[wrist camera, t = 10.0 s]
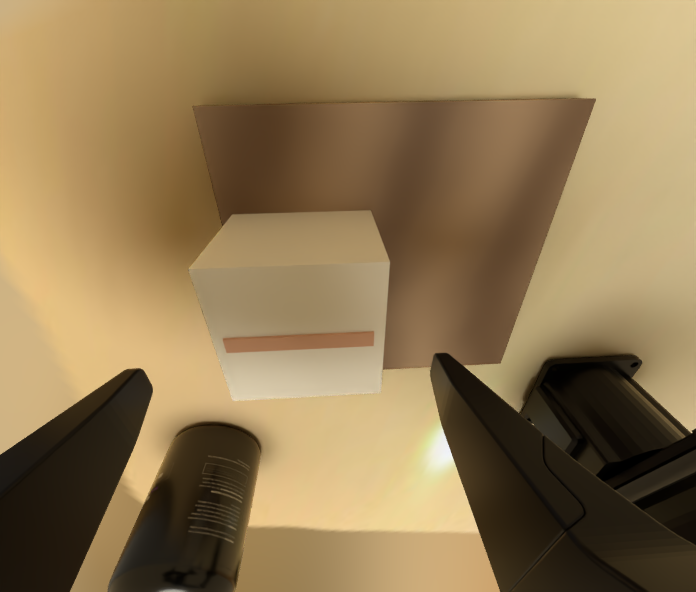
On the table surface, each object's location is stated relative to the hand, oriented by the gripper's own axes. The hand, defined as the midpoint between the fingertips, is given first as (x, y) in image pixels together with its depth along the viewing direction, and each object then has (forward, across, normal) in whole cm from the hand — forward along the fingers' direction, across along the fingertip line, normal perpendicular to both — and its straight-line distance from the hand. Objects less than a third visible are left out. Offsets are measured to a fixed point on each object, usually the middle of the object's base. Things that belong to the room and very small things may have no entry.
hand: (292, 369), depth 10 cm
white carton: (+6, 0, 0) cm, 6 cm away
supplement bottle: (+8, +8, +16) cm, 20 cm away
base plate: (+7, -4, 0) cm, 8 cm away
